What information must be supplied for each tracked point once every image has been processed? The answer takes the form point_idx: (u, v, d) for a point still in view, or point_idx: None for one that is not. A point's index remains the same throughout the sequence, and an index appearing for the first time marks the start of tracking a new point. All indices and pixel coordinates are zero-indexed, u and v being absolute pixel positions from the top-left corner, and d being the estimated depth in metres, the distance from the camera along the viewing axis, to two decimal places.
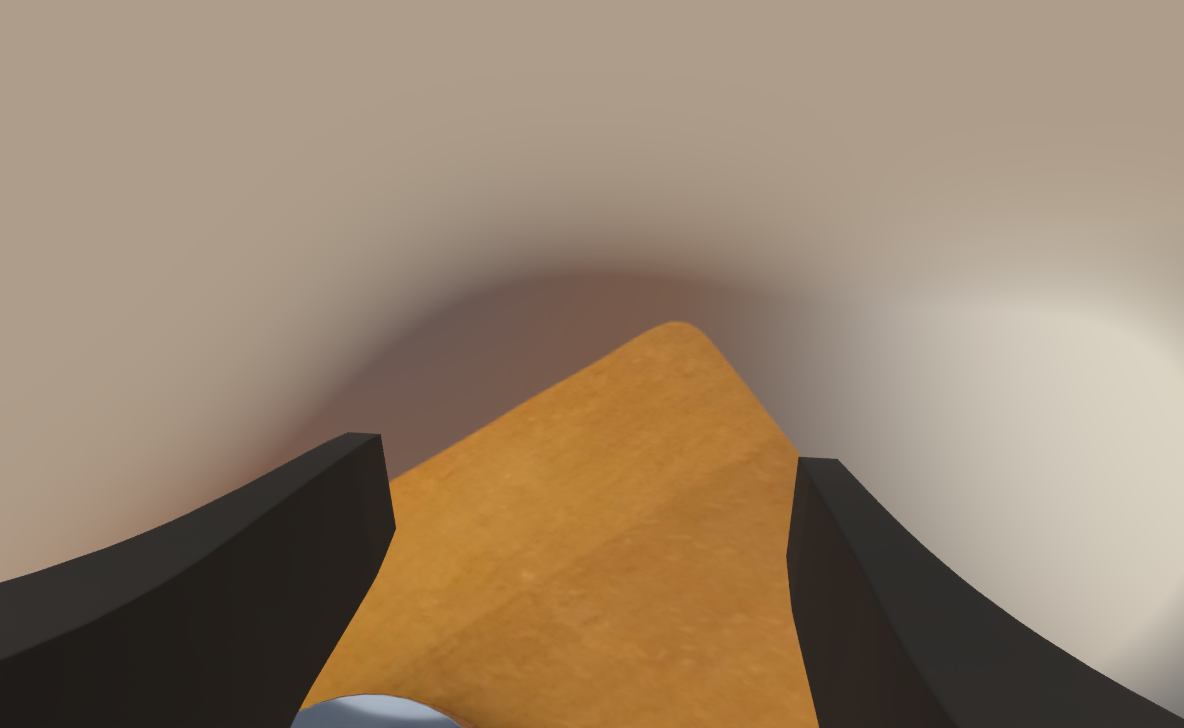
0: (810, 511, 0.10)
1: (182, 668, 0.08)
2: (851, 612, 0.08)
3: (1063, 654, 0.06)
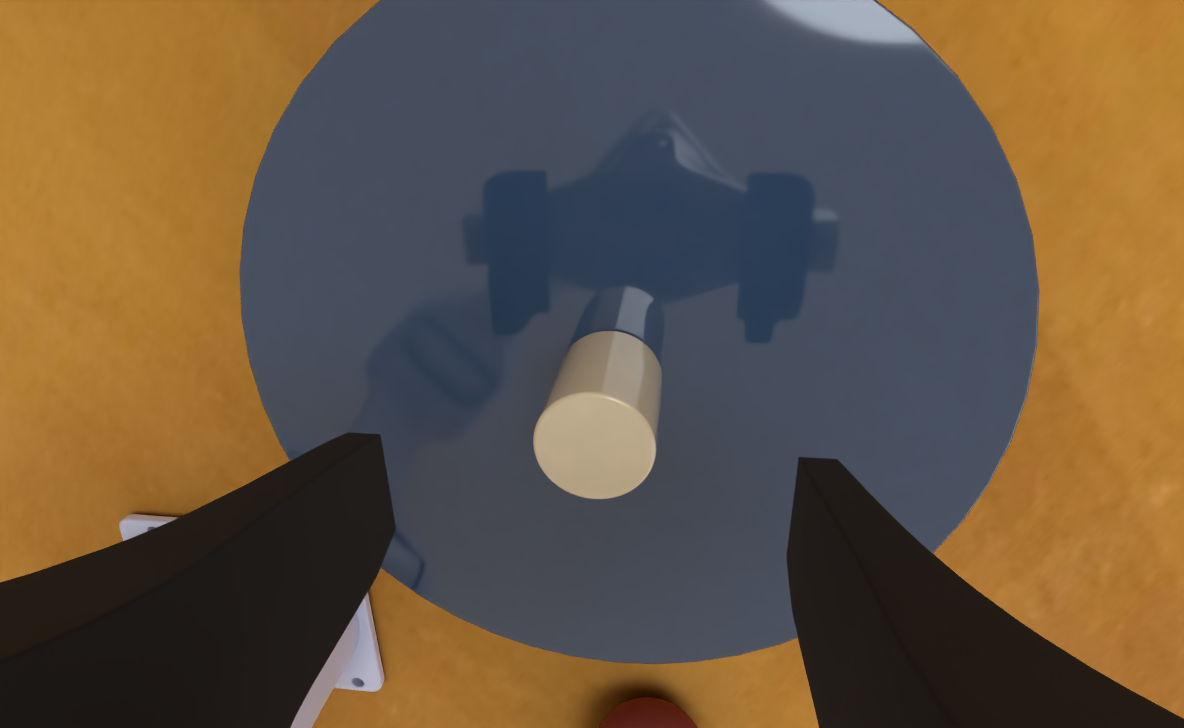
0: (810, 511, 0.10)
1: (182, 668, 0.08)
2: (851, 612, 0.08)
3: (1063, 654, 0.06)
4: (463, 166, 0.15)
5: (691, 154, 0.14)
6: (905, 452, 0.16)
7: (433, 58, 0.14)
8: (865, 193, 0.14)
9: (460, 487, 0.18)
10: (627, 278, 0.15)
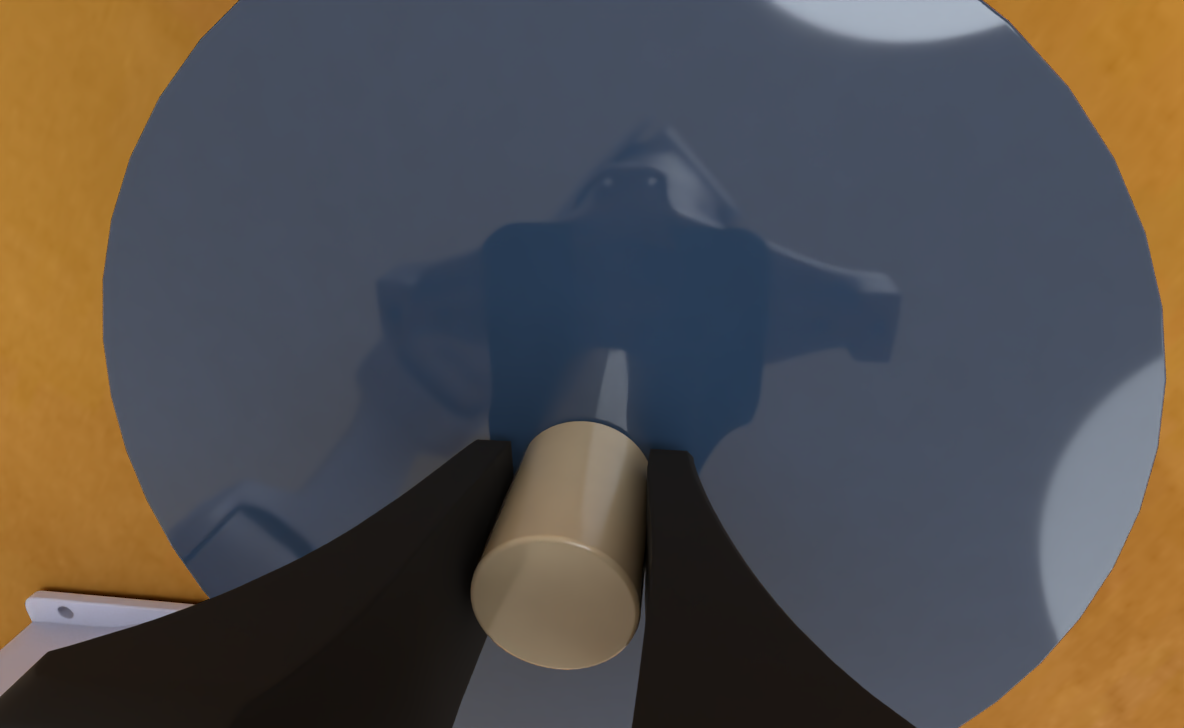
0: (647, 501, 0.10)
1: (382, 689, 0.07)
2: None
3: (795, 631, 0.07)
4: (382, 208, 0.11)
5: (690, 194, 0.10)
6: (971, 577, 0.12)
7: (334, 62, 0.10)
8: (930, 248, 0.10)
9: None
10: (604, 355, 0.11)
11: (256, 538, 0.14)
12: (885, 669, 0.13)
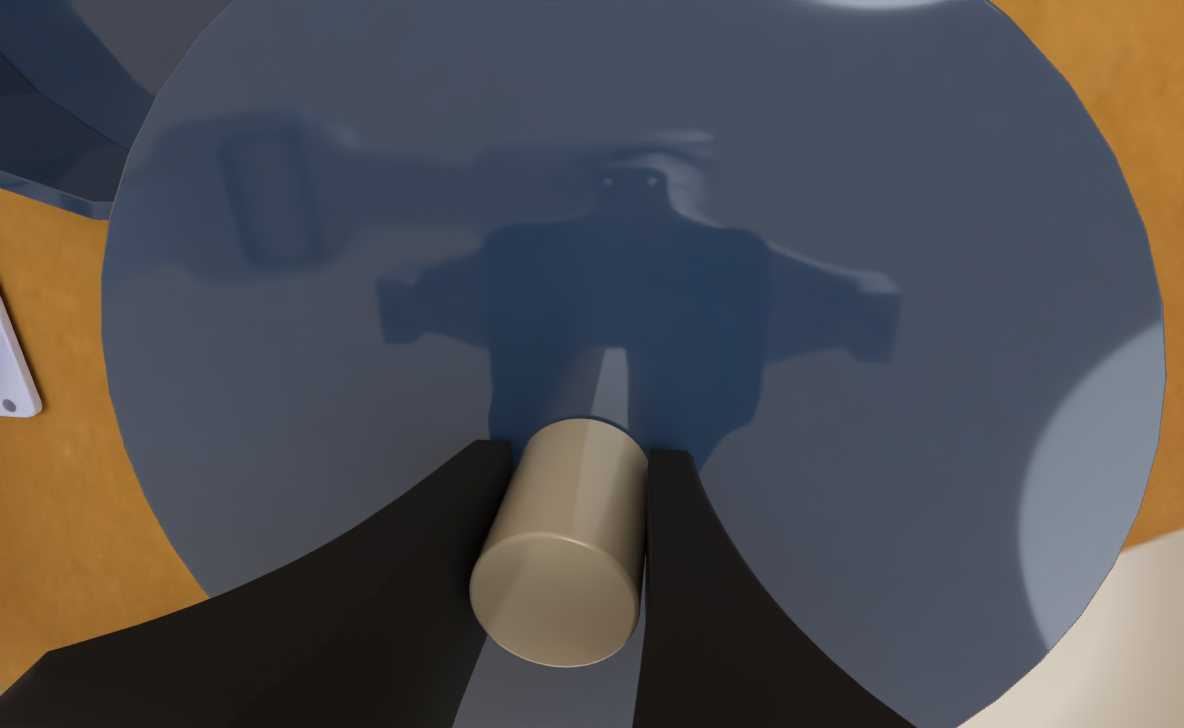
0: (647, 501, 0.10)
1: (381, 689, 0.07)
2: None
3: (795, 631, 0.07)
4: (382, 205, 0.11)
5: (689, 190, 0.10)
6: (971, 576, 0.12)
7: (333, 58, 0.10)
8: (930, 245, 0.10)
9: None
10: (604, 352, 0.11)
11: (255, 536, 0.14)
12: (885, 667, 0.13)
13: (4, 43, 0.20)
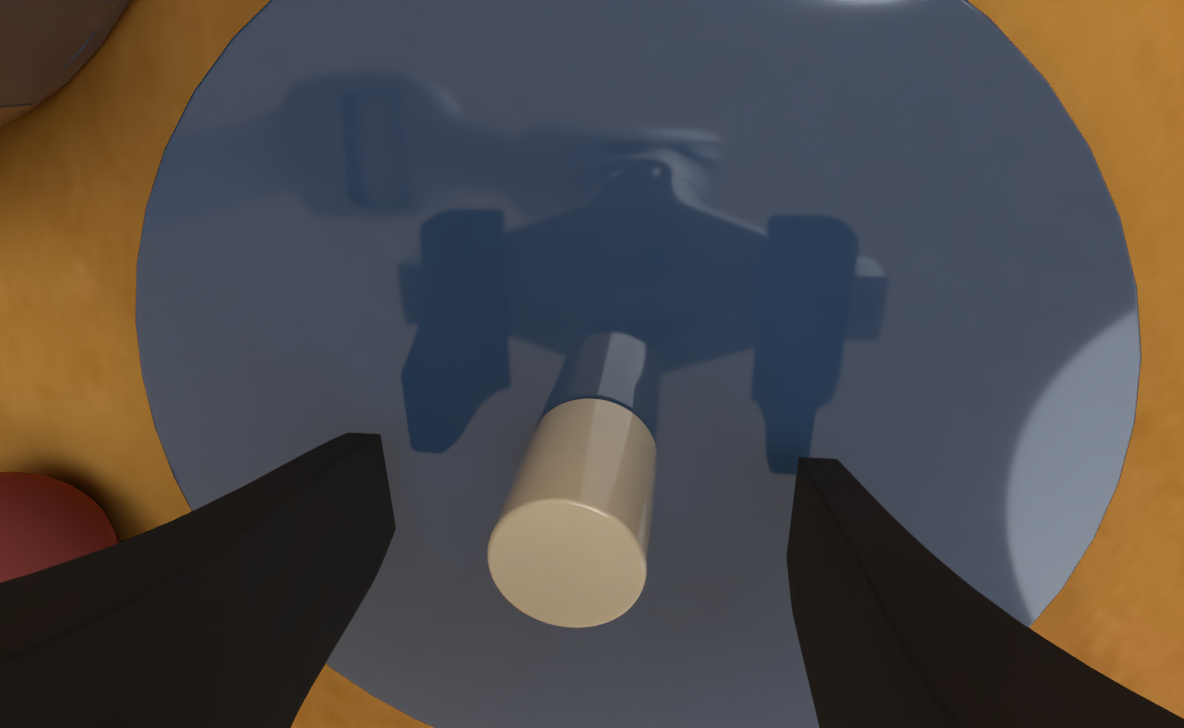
0: (810, 511, 0.10)
1: (182, 668, 0.08)
2: (851, 612, 0.08)
3: (1063, 654, 0.06)
4: (404, 195, 0.12)
5: (693, 181, 0.11)
6: (960, 548, 0.13)
7: (360, 58, 0.11)
8: (919, 232, 0.11)
9: (414, 576, 0.15)
10: (612, 335, 0.12)
11: None
12: None
13: None
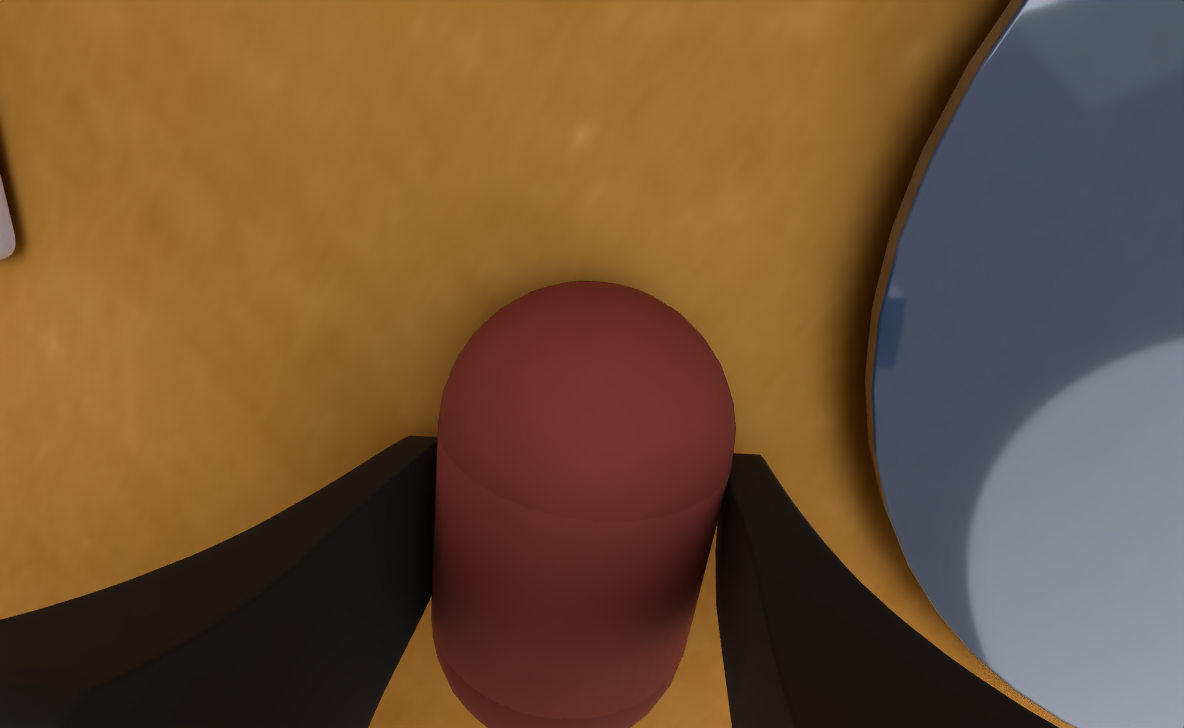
0: (726, 506, 0.10)
1: (277, 679, 0.07)
2: (748, 603, 0.08)
3: (924, 642, 0.06)
4: None
5: None
6: None
7: None
8: None
9: (1162, 499, 0.11)
10: None
11: (1014, 389, 0.11)
12: None
13: None
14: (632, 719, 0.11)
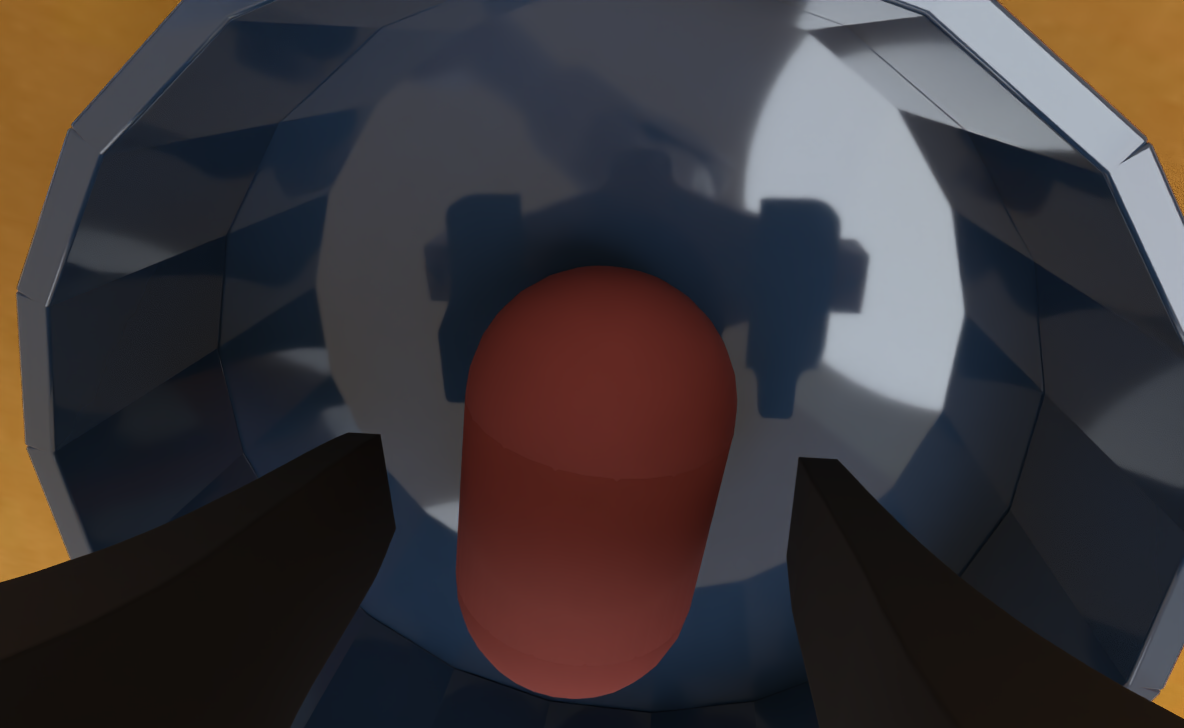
0: (810, 511, 0.10)
1: (182, 668, 0.08)
2: (851, 612, 0.08)
3: (1063, 654, 0.06)
4: None
5: None
6: None
7: None
8: None
9: None
10: None
11: None
12: None
13: (270, 181, 0.13)
14: (644, 667, 0.12)
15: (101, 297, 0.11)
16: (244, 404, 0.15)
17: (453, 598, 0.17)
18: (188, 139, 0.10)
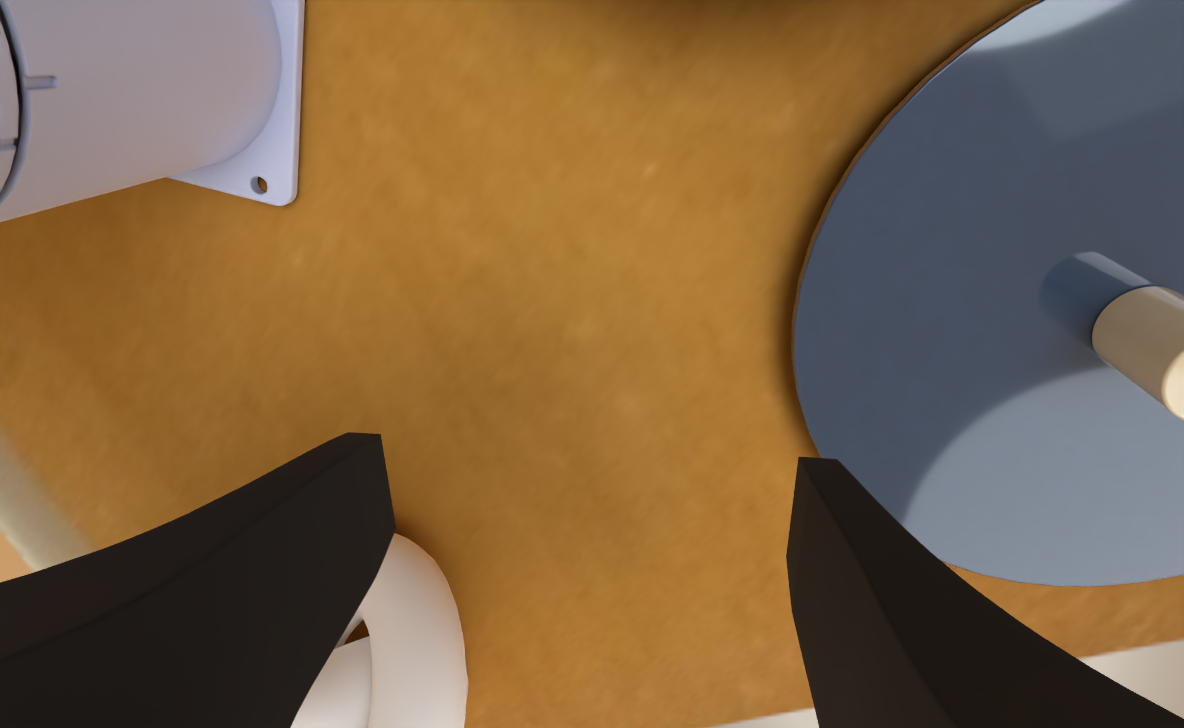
0: (810, 511, 0.10)
1: (182, 668, 0.08)
2: (851, 612, 0.08)
3: (1063, 654, 0.06)
4: (1127, 118, 0.17)
5: None
6: None
7: (1160, 19, 0.16)
8: None
9: (942, 396, 0.20)
10: None
11: (868, 328, 0.20)
12: None
13: None
14: None
15: None
16: None
17: None
18: None
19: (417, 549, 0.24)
